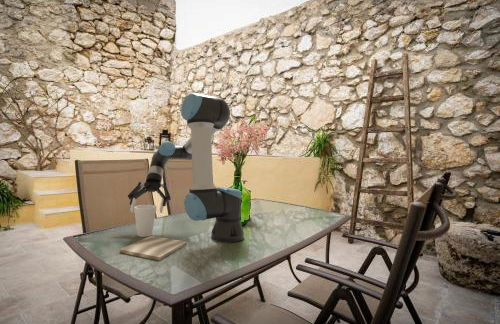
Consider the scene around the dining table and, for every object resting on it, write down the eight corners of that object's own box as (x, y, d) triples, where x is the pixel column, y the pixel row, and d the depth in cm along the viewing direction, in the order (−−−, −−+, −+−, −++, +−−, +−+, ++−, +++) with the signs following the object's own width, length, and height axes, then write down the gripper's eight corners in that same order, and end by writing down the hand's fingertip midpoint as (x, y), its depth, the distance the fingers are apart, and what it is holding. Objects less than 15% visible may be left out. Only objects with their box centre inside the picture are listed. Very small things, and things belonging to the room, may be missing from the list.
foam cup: (148, 238, 118) (148, 209, 118) (129, 236, 120) (130, 207, 120) (159, 232, 128) (160, 205, 127) (142, 230, 129) (142, 203, 129)
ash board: (186, 244, 113) (186, 241, 113) (159, 260, 96) (159, 257, 96) (151, 238, 119) (151, 235, 119) (119, 252, 102) (119, 249, 102)
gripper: (179, 181, 146) (173, 215, 132) (131, 180, 143) (120, 214, 129) (178, 172, 140) (172, 207, 126) (128, 171, 137) (116, 206, 123)
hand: (146, 211), depth 127 cm, fingers open, 13 cm apart
